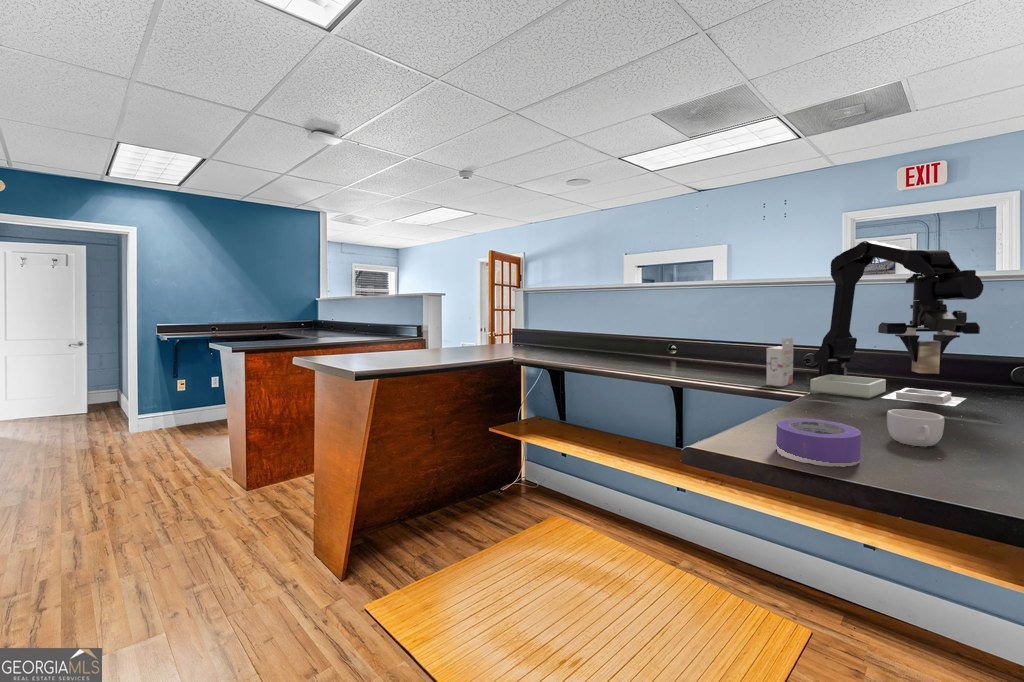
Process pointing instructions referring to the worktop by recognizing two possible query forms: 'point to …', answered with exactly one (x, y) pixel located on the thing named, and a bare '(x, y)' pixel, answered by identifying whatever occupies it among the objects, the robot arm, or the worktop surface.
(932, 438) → the teacup
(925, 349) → the strut
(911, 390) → the socket collar
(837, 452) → the tape roll
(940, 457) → the worktop surface
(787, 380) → the ink cartridge box
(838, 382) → the bin
